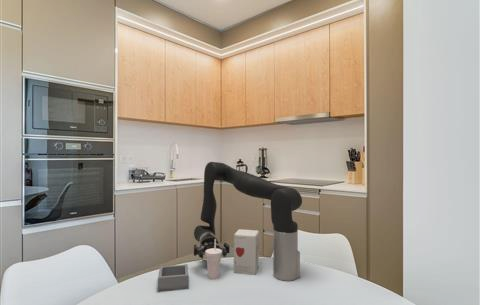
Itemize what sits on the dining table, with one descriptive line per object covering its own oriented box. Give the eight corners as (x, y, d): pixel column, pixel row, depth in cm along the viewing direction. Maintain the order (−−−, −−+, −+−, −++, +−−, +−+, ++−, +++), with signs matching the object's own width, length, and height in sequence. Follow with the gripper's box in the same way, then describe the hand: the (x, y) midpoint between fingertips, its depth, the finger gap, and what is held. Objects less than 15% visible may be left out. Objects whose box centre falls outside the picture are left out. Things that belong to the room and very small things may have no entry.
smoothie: (219, 281, 94) (219, 242, 95) (202, 279, 95) (202, 241, 96) (223, 274, 100) (224, 237, 101) (207, 272, 101) (208, 236, 102)
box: (187, 276, 98) (187, 264, 98) (188, 288, 88) (188, 275, 88) (159, 279, 95) (159, 266, 96) (157, 292, 86) (158, 278, 86)
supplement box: (232, 273, 101) (233, 234, 102) (238, 264, 110) (238, 228, 111) (255, 275, 99) (256, 235, 100) (259, 266, 108) (259, 230, 109)
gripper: (192, 234, 112) (194, 246, 97) (224, 233, 116) (232, 243, 100) (192, 252, 112) (194, 266, 96) (224, 250, 115) (232, 263, 100)
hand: (213, 255), depth 98 cm, fingers open, 8 cm apart
